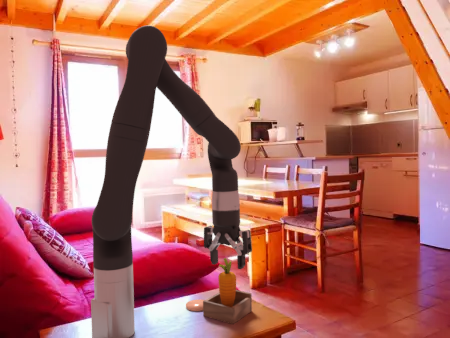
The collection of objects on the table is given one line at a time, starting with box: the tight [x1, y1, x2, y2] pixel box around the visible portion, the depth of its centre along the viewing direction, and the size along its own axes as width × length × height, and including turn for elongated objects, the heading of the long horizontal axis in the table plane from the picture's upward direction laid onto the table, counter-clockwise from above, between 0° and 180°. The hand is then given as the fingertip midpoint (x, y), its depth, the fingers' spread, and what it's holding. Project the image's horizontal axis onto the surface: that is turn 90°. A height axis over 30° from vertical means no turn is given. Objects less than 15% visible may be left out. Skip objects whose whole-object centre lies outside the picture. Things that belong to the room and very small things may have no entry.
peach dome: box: [185, 298, 206, 312], centre depth 109 cm, size 7×7×1 cm
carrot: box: [218, 257, 237, 307], centre depth 103 cm, size 5×5×15 cm
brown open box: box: [202, 289, 253, 325], centre depth 103 cm, size 10×10×5 cm
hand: (227, 266), depth 103 cm, fingers open, 8 cm apart
